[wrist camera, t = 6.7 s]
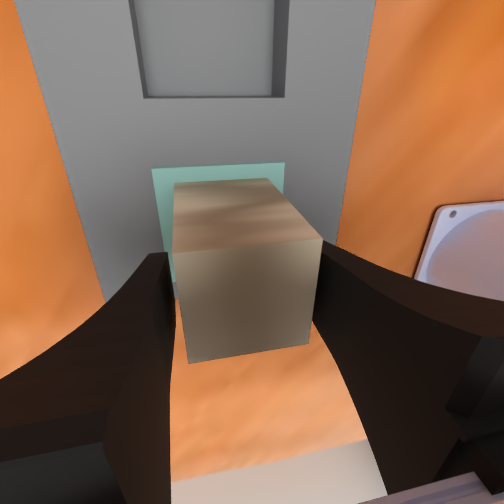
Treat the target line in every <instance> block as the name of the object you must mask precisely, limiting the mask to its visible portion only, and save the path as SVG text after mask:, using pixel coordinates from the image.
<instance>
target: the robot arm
mask: <svg viewBox="0 0 504 504" xmlns="http://www.w3.org/2000/svg"><path fill="white" fill-rule="evenodd" d="M450 213H451V214H450ZM312 321H313V323H314V325H315V326H316V328H317V330H318V332H319V333H320V335H321V337H322V339H323V340H324V342H325V344H326V345H327V347H328V349H329V351H330V352H331V354H332V356H333V358H334V360H335V362H336V364H337V366H338V368H339V370H340V372H341V375H342V377H343V379H344V381H345V384H346V386H347V388H348V390H349V393H350V395H351V398H352V400H353V403H354V405H355V407H356V410H357V412H358V415H359V417H360V420H361V422H362V425H363V427H364V430H365V433H366V435H367V438H368V441H369V443H370V446H371V448H372V451H373V454H374V457H375V459H376V462H377V465H378V468H379V471H380V473H381V477H382V479H383V482H384V485H385V488H386V491H387V494H388V495H387V496H384V497H380V498H377V499H373V500H370V501H366V502H362V503H359V504H504V201H494V202H482V203H470V204H458V205H446V206H442V207H440V208H439V209H438V210H437V211H436V214H435V217H434V220H433V223H432V226H431V229H430V232H429V235H428V238H427V241H426V244H425V247H424V250H423V253H422V256H421V259H420V262H419V265H418V268H417V271H416V274H415V277H414V279H413V278H410V277H407V276H404V275H401V274H398V273H395V272H393V271H390V270H388V269H385V268H383V267H381V266H378V265H376V264H373V263H371V262H369V261H367V260H364V259H362V258H360V257H358V256H356V255H354V254H352V253H350V252H348V251H345V250H343V249H341V248H339V247H337V246H335V245H333V244H331V243H329V242H327V241H324V240H323V242H322V249H321V257H320V264H319V271H318V279H317V286H316V293H315V301H314V308H313V315H312ZM175 328H176V312H175V296H174V289H173V283H172V277H171V270H170V264H169V257H168V252H158V253H149V254H148V255H147V256H146V257H145V259H144V260H143V261H142V262H141V264H140V265H139V266H138V268H137V269H136V270H135V271H134V273H133V274H132V275H131V276H130V277H129V279H128V280H127V281H126V282H125V283H124V284H123V286H122V287H121V288H120V289H119V290H118V291H117V292H116V293H115V294H114V295H113V296H112V297H111V298H110V299H109V300H108V301H107V302H106V304H104V305H103V306H102V307H101V308H100V309H99V310H98V311H97V312H96V313H95V314H94V315H92V316H91V317H90V318H89V319H88V320H86V321H85V322H84V323H83V324H82V325H80V326H79V327H78V328H77V329H75V330H74V331H73V332H71V333H70V334H68V335H67V336H66V337H64V338H63V339H62V340H60V341H59V342H57V343H56V344H55V345H53V346H52V347H50V348H49V349H48V350H46V351H45V352H43V353H42V354H40V355H39V356H37V357H36V358H34V359H33V360H31V361H29V362H28V363H26V364H25V365H23V366H21V367H20V368H18V369H17V370H15V371H13V372H12V373H10V374H8V375H7V376H5V377H3V378H2V379H0V504H171V474H170V381H171V371H172V360H173V350H174V339H175Z"/></svg>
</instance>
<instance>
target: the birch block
mask: <svg viewBox="0 0 504 504" xmlns="http://www.w3.org/2000/svg"><path fill="white" fill-rule="evenodd" d="M322 242H323V238H322V237H321V236H320V235H319V234H318V233H317V232H316V230H315V229H314V228H313V227H312V226H311V225H310V224H309V223H308V222H307V221H306V220H305V218H304V217H303V216H302V215H301V214H300V213H299V212H298V211H297V210H296V209H295V207H294V206H293V205H292V204H291V203H290V202H289V201H288V200H287V199H286V198H285V197H284V195H283V194H282V193H281V192H280V191H279V190H278V189H277V188H276V187H275V186H274V184H273V183H272V182H271V181H270V180H269V179H268V178H251V179H234V180H216V181H199V182H182V183H174V208H173V240H172V257H173V263H174V270H175V277H176V284H177V290H178V297H179V304H180V310H181V317H182V324H183V331H184V337H185V344H186V351H187V358H188V364H191V363H197V362H203V361H209V360H215V359H221V358H227V357H233V356H239V355H245V354H251V353H257V352H263V351H269V350H275V349H281V348H287V347H293V346H299V345H305V344H309V337H310V330H311V323H312V315H313V308H314V301H315V293H316V286H317V279H318V271H319V264H320V257H321V249H322Z"/></svg>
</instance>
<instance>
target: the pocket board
mask: <svg viewBox="0 0 504 504" xmlns="http://www.w3.org/2000/svg"><path fill="white" fill-rule="evenodd" d="M14 2H15V6H16V9H17V12H18V15H19V19H20V22H21V25H22V29H23V32H24V35H25V39H26V42H27V45H28V48H29V52H30V55H31V58H32V62H33V65H34V68H35V72H36V75H37V78H38V81H39V85H40V88H41V91H42V95H43V98H44V101H45V105H46V108H47V111H48V114H49V118H50V121H51V124H52V128H53V131H54V134H55V138H56V141H57V144H58V147H59V151H60V154H61V157H62V161H63V164H64V167H65V171H66V174H67V177H68V181H69V184H70V187H71V190H72V194H73V197H74V200H75V204H76V207H77V210H78V214H79V217H80V220H81V223H82V227H83V230H84V233H85V237H86V240H87V243H88V247H89V250H90V253H91V256H92V260H93V263H94V266H95V270H96V273H97V276H98V280H99V283H100V286H101V289H102V293H103V296H104V299H105V303H106V302H107V301H108V300H109V299H110V298H111V297H112V296H113V295H114V294H115V293H116V292H117V291H118V290H119V289H120V288H121V287H122V286H123V284H124V283H125V282H126V281H127V280H128V279H129V277H130V276H131V275H132V274H133V273H134V271H135V270H136V269H137V268H138V266H139V265H140V264H141V262H142V261H143V260H144V259H145V257H146V256H147V255H148V254H149V253H158V252H168V257H169V264H170V270H171V277H172V283H173V289H174V296H175V299H179V297H178V290H177V284H176V277H175V270H174V263H173V257H172V240H173V208H174V183H182V182H199V181H216V180H234V179H251V178H268V179H269V180H270V181H271V182H272V183H273V184H274V186H275V187H276V188H277V189H278V190H279V191H280V192H281V193H282V194H283V195H284V197H285V198H286V199H287V200H288V201H289V202H290V203H291V204H292V205H293V206H294V207H295V209H296V210H297V211H298V212H299V213H300V214H301V215H302V216H303V217H304V218H305V220H306V221H307V222H308V223H309V224H310V225H311V226H312V227H313V228H314V229H315V230H316V232H317V233H318V234H319V235H320V236H321V237H322V238H323V240H324V241H327V242H329V243H331V244H333V245H335V246H336V240H337V234H338V228H339V222H340V216H341V210H342V204H343V198H344V192H345V185H346V179H347V173H348V167H349V161H350V155H351V149H352V143H353V137H354V130H355V124H356V118H357V112H358V106H359V100H360V94H361V88H362V82H363V75H364V69H365V63H366V57H367V51H368V45H369V39H370V33H371V27H372V20H373V14H374V8H375V2H376V0H14Z"/></svg>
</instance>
